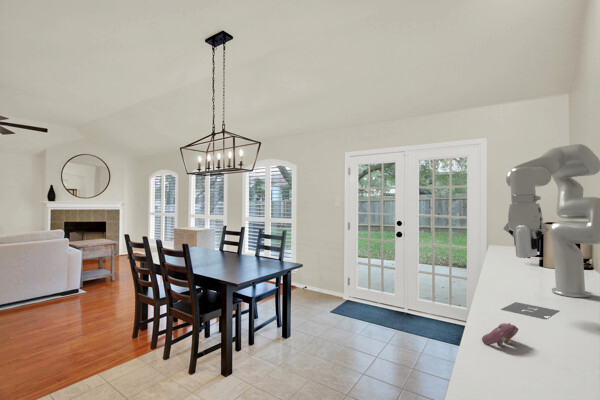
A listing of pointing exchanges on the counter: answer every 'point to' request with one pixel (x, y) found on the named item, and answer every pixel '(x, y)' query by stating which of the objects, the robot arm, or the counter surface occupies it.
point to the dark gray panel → (530, 310)
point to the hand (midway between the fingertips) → (526, 248)
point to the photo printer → (524, 242)
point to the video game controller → (500, 334)
